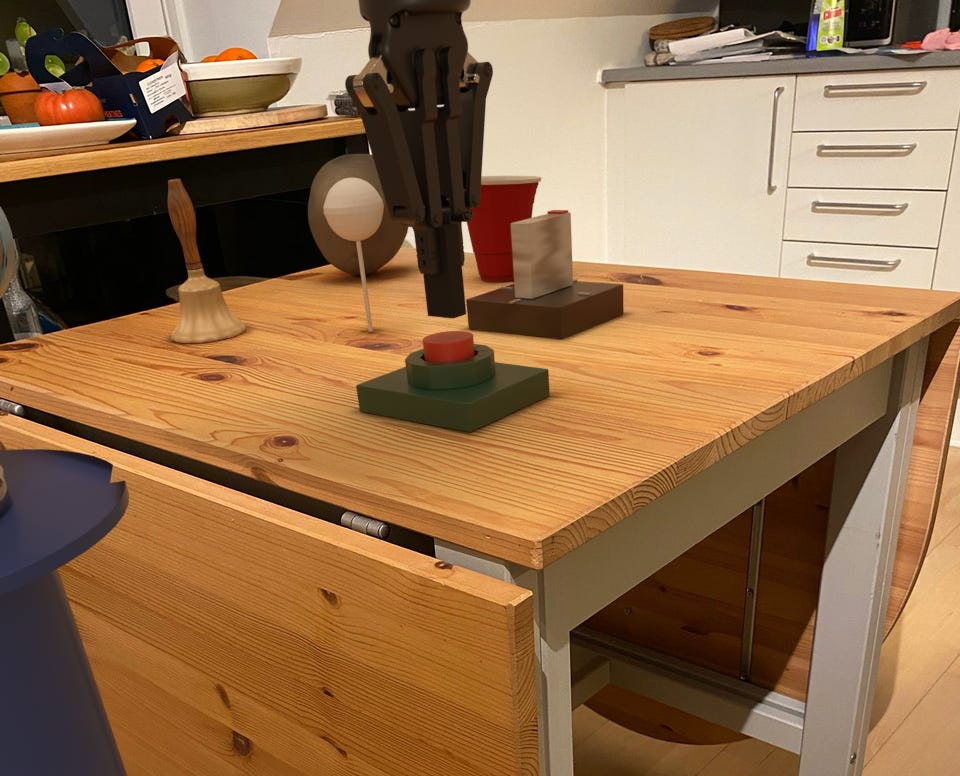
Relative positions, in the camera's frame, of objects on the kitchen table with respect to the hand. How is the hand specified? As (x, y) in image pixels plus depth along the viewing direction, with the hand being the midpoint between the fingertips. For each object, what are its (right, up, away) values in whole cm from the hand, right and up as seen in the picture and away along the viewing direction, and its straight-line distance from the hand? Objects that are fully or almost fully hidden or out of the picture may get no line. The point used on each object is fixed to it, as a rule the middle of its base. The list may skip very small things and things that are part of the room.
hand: (447, 314), depth 76 cm
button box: (+1, -6, +4) cm, 7 cm away
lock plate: (+10, +8, +26) cm, 29 cm away
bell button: (0, -3, +2) cm, 3 cm away
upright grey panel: (+9, +11, +24) cm, 28 cm away
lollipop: (-9, +8, +29) cm, 31 cm away
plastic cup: (+6, +21, +49) cm, 54 cm away
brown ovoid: (-13, +25, +59) cm, 65 cm away
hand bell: (-28, +9, +34) cm, 45 cm away
